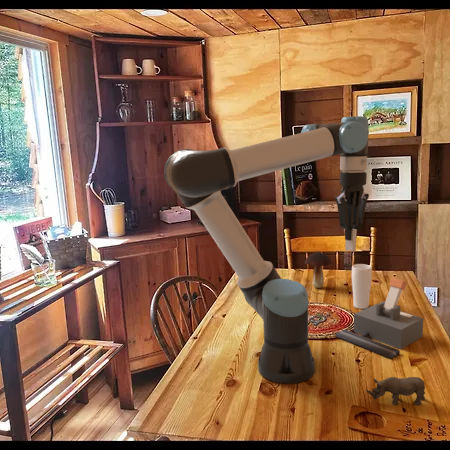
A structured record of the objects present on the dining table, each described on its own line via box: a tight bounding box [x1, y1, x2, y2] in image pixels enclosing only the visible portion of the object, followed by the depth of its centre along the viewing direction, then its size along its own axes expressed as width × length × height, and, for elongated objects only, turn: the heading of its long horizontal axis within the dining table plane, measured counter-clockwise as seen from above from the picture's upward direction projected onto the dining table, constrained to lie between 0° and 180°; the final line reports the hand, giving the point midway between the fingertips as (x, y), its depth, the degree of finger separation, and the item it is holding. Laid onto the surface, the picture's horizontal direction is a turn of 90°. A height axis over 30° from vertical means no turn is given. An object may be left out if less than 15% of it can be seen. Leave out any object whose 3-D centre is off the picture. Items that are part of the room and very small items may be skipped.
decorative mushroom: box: [304, 251, 333, 289], centre depth 180 cm, size 11×11×15 cm
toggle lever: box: [382, 277, 407, 315], centre depth 136 cm, size 2×4×11 cm
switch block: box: [353, 300, 424, 350], centre depth 136 cm, size 12×16×10 cm
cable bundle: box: [335, 329, 401, 359], centre depth 131 cm, size 8×19×1 cm, turn 38°
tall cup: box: [351, 263, 373, 310], centre depth 158 cm, size 7×7×15 cm
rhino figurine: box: [365, 376, 426, 406], centre depth 103 cm, size 4×14×6 cm, turn 87°
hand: (350, 250), depth 133 cm, fingers closed
